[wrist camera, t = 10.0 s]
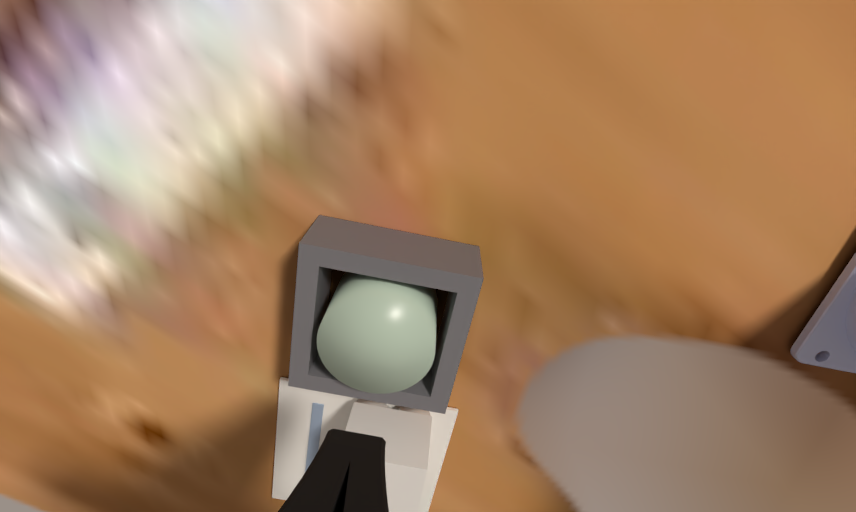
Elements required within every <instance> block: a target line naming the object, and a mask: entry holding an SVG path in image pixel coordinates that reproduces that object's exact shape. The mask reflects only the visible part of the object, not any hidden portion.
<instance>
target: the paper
mask: <svg viewBox="0 0 856 512" xmlns="http://www.w3.org/2000/svg"><path fill="white" fill-rule="evenodd" d="M288 380H289V378H284V377H281V378H280V383H279V399H278V414H277V429H276V444H275V459H274V475H273V490H272V498H276V499H282V500H287V498H288V497H289V496H290V494H291V493H292V491H293V490H294V488H295V487H296V485H297V484H298V483H299V481H300V480H301V478H302V477H303V475H304V473H305V472H306V470H307V469H308V467H309V465H310V464H311V462H312V461H313V459H314V457H315V455H316V454H317V452H318V450H319V448H320V446H321V445H322V443H323V441H324V439H325V436H326V434H327V432H328V431H329V430H331V429H339V430H344V431H345V430H346V426H347V423H348V420H349V417H350V413H351V410H352V407H353V404H354V402H356V401H357V400H358V398H353V397H347V396H341V395H336V394H330V393H325V392H319V391H314V390H308V389H302V388H297V387H291V386H288ZM401 407H402V406H397V405H392V404H387V408H390V409H396V410H399V409H400V408H401ZM429 412H430V415H431V416H432V425H431V436H430V447H429V458H428V469H427V474H426V478H425V482H424V486H423V490H422V494H421V498H420V503H419V507H418V511H417V512H428V510H429V507H430V503H431V500H432V497H433V494H434V490H435V487H436V484H437V480H438V477H439V474H440V470H441V467H442V464H443V460H444V457H445V454H446V450H447V447H448V444H449V440H450V437H451V434H452V430H453V427H454V424H455V420H456V417H457V414H458V409H456V408H451V407H447V409H446V412H445V414H442V413H436V412H431V411H429Z"/></svg>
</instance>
